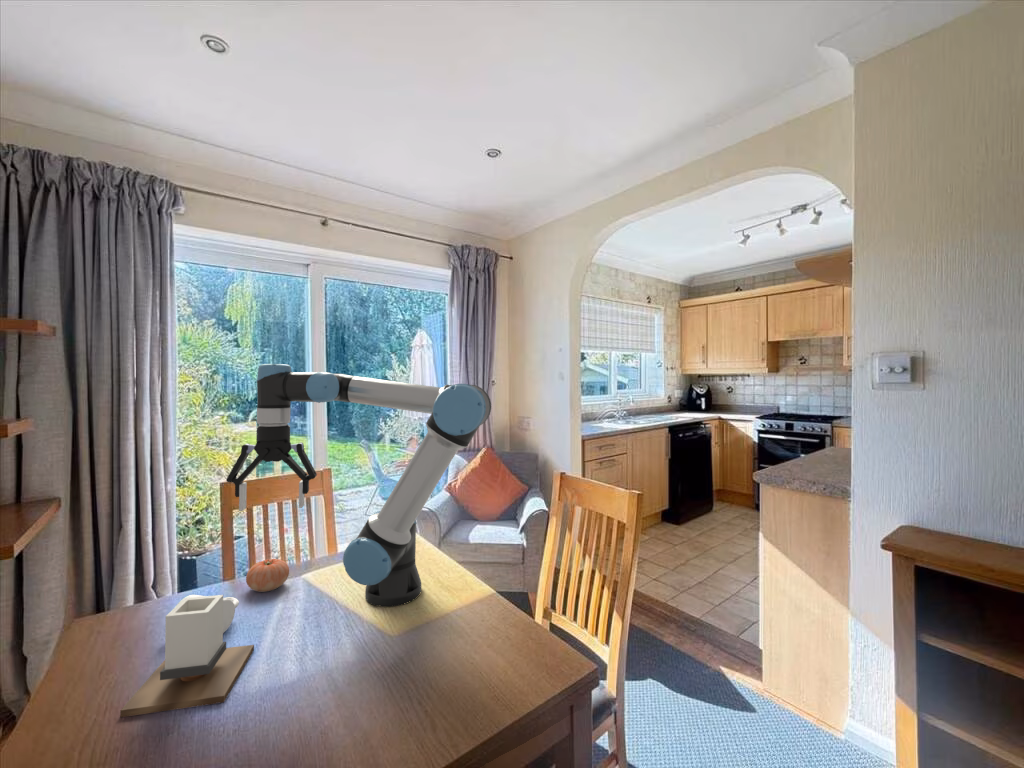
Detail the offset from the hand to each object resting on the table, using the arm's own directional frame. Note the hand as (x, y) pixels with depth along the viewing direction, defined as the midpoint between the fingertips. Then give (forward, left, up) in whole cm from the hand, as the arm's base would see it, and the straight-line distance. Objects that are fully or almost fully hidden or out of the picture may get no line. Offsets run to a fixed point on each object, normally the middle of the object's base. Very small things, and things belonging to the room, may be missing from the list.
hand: (272, 508), depth 110 cm
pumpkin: (+5, -15, -27) cm, 31 cm away
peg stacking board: (+7, +24, -27) cm, 37 cm away
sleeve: (+7, +24, -22) cm, 33 cm away
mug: (+12, +4, -27) cm, 30 cm away
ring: (+7, +24, -24) cm, 34 cm away
